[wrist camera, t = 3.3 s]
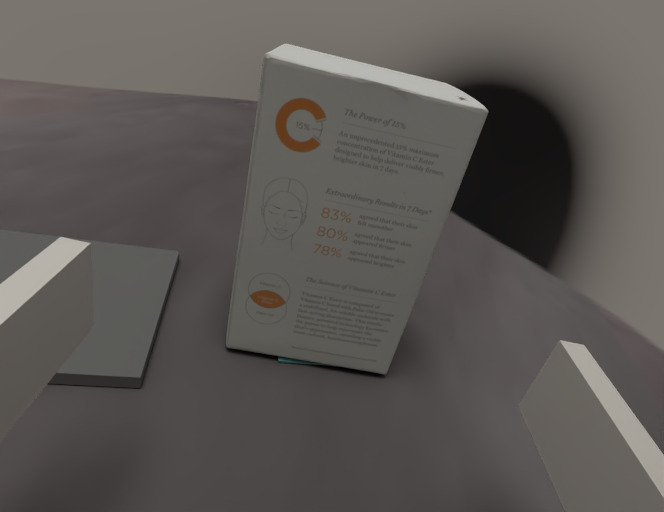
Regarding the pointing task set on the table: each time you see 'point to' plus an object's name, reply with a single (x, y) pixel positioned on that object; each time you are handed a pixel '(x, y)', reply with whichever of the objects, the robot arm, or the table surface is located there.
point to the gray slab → (108, 307)
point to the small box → (344, 206)
